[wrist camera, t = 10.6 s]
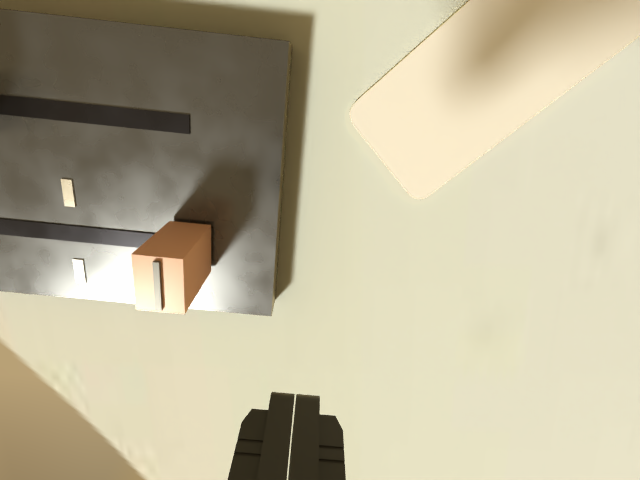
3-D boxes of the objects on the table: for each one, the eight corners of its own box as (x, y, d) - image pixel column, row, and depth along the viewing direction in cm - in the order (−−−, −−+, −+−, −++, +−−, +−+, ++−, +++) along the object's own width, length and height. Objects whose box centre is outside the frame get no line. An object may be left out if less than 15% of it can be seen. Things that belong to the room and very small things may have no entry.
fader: (169, 220, 22) (128, 255, 18) (211, 225, 22) (181, 261, 18) (171, 267, 23) (133, 312, 19) (211, 271, 24) (183, 316, 19)
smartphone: (342, 112, 22) (588, -107, 18) (342, 111, 23) (579, -100, 19) (417, 205, 24) (653, 27, 20) (414, 202, 25) (642, 28, 21)
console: (-162, -6, 20) (-234, -19, 18) (292, 45, 21) (287, 39, 18) (-78, 267, 26) (-123, 287, 24) (274, 300, 27) (269, 323, 24)
